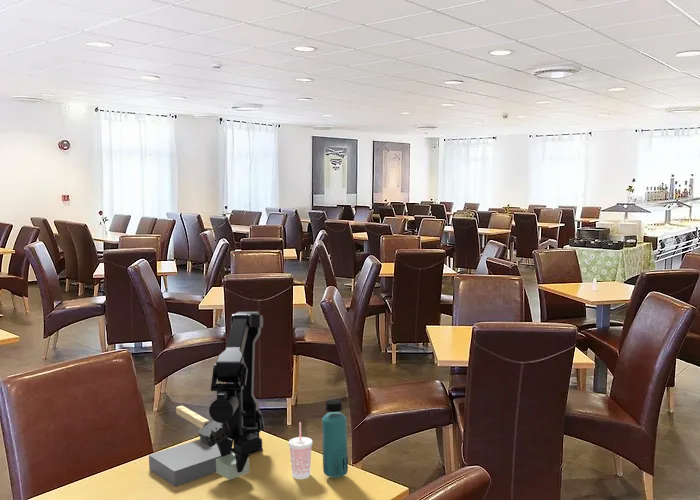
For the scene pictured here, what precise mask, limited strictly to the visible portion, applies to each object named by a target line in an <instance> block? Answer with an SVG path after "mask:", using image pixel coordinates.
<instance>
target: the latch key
mask: <svg viewBox="0 0 700 500" xmlns="http://www.w3.org/2000/svg"><path fill="white" fill-rule="evenodd" d="M175 414H176V415H178V416H180V417H181V418H183V419H185V420H186V421H187V422H190V423H191V424H193V425H195V426H196V427H198V428H199V430H200V429H202V428H203V427H204V425H205V424H206V423H208V422H210V420H209V419H207V418H205V417H203V416H202V415H200V414H198V413H197V412H195V411H193V410H191V409H189V408H188V407H186V406H184V405H178V406H176V407H175ZM199 439H200V438H199ZM200 441H201V439H200Z"/></svg>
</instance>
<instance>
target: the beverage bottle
mask: <svg viewBox="0 0 700 500" xmlns="http://www.w3.org/2000/svg"><path fill="white" fill-rule="evenodd" d="M342 405H343V404H342V401H341V400H339V399H329V400H327V401H326V402H325V411H327V413H326V414H324V416H323V417H322V419H321V425H322V426H321V427H322V430H321V431H322V447H321V448H322V456H321V457H322V470H323V474H324V475H325V476H327V477H329V478H341V477H344V476H346V475H347V474H348V470H349V458H348V452H349V451H348V431H347V429H348V427H347V417H346V415H345V414H343V413H342V412H341V411H342V410H343V406H342Z"/></svg>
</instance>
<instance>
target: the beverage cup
mask: <svg viewBox="0 0 700 500" xmlns="http://www.w3.org/2000/svg"><path fill="white" fill-rule="evenodd" d="M298 426H299V427H298V429H299V431H298V434H299V436H297V437H293V438H290V439H289V440H288V447H289V452H290V453H289V454H290V463H291V476H292V478H294V479H296V480H305V479H308V478H309V477H310V476H311V465H312V464H311V463H312V461H311V460H312V446H313V440H312V438H310V437H306V436H302V422H301V421H299V423H298Z"/></svg>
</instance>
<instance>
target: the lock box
mask: <svg viewBox="0 0 700 500" xmlns="http://www.w3.org/2000/svg"><path fill="white" fill-rule="evenodd" d="M232 453H233V452H232V451H231V454H232ZM220 457H221V454H220V451H219V449H218V446H217V444H215V445H214V446H212V447H209V446H207V445H206V444H203V443H202V441H200V438H199V439H195V440H193V441H190V442H187V443H182V444H179V445H176V446H173V447H169V448H167V449H163V450H160V451H157V452H154V453H151V454H148V470H149V471H151V472H152V473H154V474H155V475H157V476H158V477H159V478H160V479H162V480H164V481H166V482H167V483H168V484H170V485H171V486H172V487H178V486H182V485H184V484H187V483H190V482H193V481H195V480H198V479H201V478H205V477H207V476H209V475H213V474H217V473H216V459H217V458H220Z"/></svg>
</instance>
